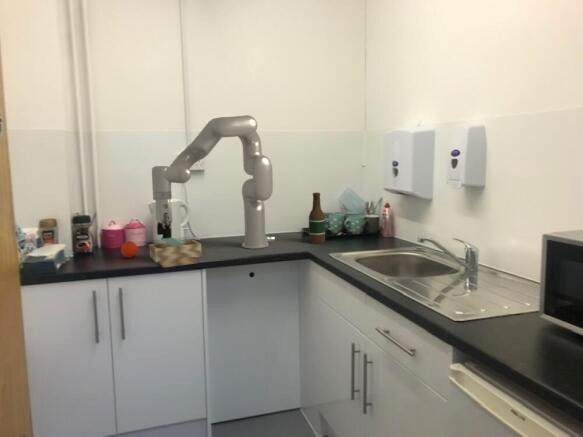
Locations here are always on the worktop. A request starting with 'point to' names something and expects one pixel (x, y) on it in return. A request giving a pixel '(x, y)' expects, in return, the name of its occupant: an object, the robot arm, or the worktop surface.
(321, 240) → the beer bottle
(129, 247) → the clementine
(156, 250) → the woven basket
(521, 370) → the worktop surface
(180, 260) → the cork trivet
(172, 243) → the teal block
